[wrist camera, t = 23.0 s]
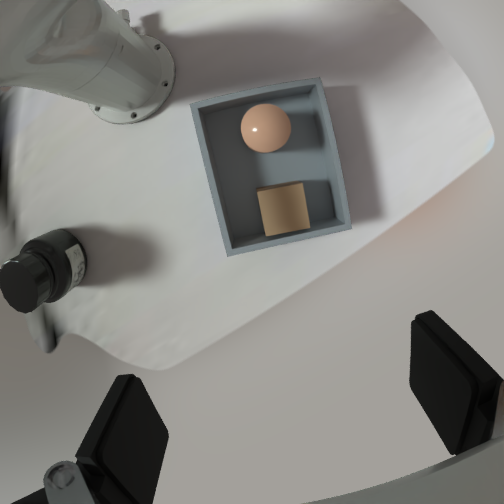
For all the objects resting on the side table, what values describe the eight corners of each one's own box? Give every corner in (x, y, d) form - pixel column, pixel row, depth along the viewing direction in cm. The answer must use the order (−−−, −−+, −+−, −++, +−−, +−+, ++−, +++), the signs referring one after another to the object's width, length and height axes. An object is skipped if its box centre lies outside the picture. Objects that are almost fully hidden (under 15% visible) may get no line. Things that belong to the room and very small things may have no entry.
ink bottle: (74, 299, 44) (34, 336, 33) (34, 266, 43) (-13, 294, 31) (98, 248, 42) (55, 278, 30) (54, 214, 41) (3, 233, 29)
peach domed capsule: (238, 118, 37) (235, 109, 30) (278, 109, 37) (284, 99, 30) (247, 157, 38) (247, 156, 32) (287, 148, 38) (295, 146, 31)
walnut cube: (263, 227, 41) (265, 236, 36) (256, 188, 39) (257, 191, 35) (303, 219, 41) (310, 227, 36) (296, 180, 39) (302, 183, 34)
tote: (197, 111, 37) (189, 104, 32) (310, 87, 37) (320, 77, 31) (230, 244, 42) (227, 256, 37) (339, 219, 41) (351, 228, 36)
